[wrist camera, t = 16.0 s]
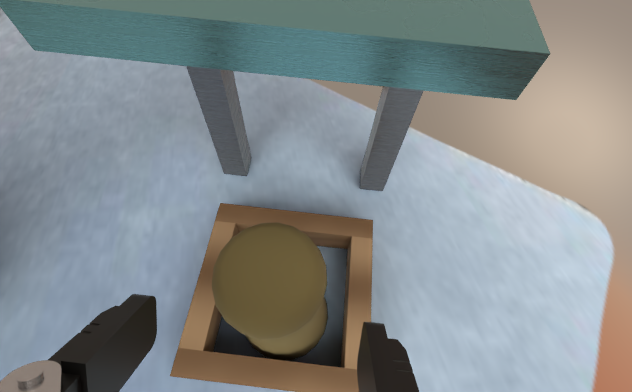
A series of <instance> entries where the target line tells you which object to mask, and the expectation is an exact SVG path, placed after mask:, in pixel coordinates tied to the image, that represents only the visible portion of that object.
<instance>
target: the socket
mask: <svg viewBox="0 0 632 392" xmlns="http://www.w3.org/2000/svg"><path fill="white" fill-rule="evenodd" d="M277 222H278V223H282V224H286V225H290V226H294V227H295V228H297V229H298V230H300V231H302V232H303V233H305V234H306V235H308V237H309V238H310V239H311V240H312V241H313V242H314V244H315V245H316V246H325V247H333V248H342V249H348V251H347V268H346V284H345V301H344V317H343V334H342V350H341V367H333V366H324V365H316V364H308V363H300V362H291V361H283V360H275V359H267V358H258V357H250V356H242V355H234V354H225V353H217V352H213V351H214V347H215V342H216V338H217V334H218V330H219V326H220V322H221V317H222V315H221V313H220V312H219V310H218V309H217V307H216V304H215V300H214V295H213V291H212V277H213V268H214V265H215V263H216V260H217V258H218V256H219V254H220V251H221V250H222V249H223V248H224V246H225V245H226V244H227V243H228V242H229V240H230V239H231V238H232V237H234V236H235V235H237V234H238V233H240V232H241V231H243V230H244V229H246V228H248V227H251V226H254V225H257V224H260V223H277ZM372 238H373V220H367V219H358V218H349V217H340V216H331V215H322V214H314V213H305V212H296V211H287V210H278V209H269V208H260V207H251V206H242V205H233V204H224V203H220V206H219V209H218V213H217V216H216V219H215V223H214V226H213V230H212V233H211V237H210V240H209V243H208V247H207V250H206V254H205V257H204V261H203V264H202V268H201V271H200V274H199V278H198V281H197V285H196V288H195V292H194V295H193V298H192V302H191V305H190V309H189V312H188V316H187V319H186V323H185V326H184V329H183V333H182V336H181V340H180V343H179V347H178V350H177V353H176V357H175V360H174V364H173V367H172V371H171V374H170V376H173V377H181V378H189V379H197V380H205V381H213V382H222V383H230V384H238V385H246V386H254V387H262V388H270V389H279V390H287V391H295V392H359V387H358V377H357V359H358V351H359V345H360V339H361V333H362V327H363V323H364V322H371V288H372Z"/></svg>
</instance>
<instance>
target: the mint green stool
mask: <svg viewBox="0 0 632 392" xmlns="http://www.w3.org/2000/svg"><path fill="white" fill-rule="evenodd" d="M0 7H1V8H2V10H3V11H4V12H5V14H6V15H7V16H8V17H9V19H10V20H11V21H12V22H13V24H14V25H15V26H16V28H17V29H18V30H19V31H20V33H21V34H22V35H23V37H24V38H25V39H26V40H27V42H28V43H29V44H30V45H31V47H32V48H33V49H34V50H37V51H47V52H56V53H66V54H76V55H86V56H95V57H105V58H115V59H124V60H134V61H144V62H153V63H163V64H173V65H182V66H187V69H188V72H189V75H190V78H191V81H192V83H193V86H194V89H195V92H196V95H197V98H198V100H199V103H200V106H201V109H202V112H203V115H204V117H205V120H206V123H207V126H208V129H209V132H210V134H211V137H212V140H213V143H214V146H215V149H216V151H217V154H218V157H219V160H220V163H221V166H222V168H223V171H224V174H232V175H241V176H247V173H248V169H249V165H250V162H251V154H250V149H249V144H248V140H247V135H246V130H245V126H244V121H243V116H242V112H241V107H240V102H239V98H238V93H237V88H236V84H235V79H234V74H233V71H240V72H250V73H260V74H269V75H279V76H289V77H298V78H308V79H318V80H328V81H337V82H347V83H356V84H366V85H376V86H383V89H382V93H381V97H380V100H379V104H378V107H377V111H376V115H375V119H374V122H373V126H372V130H371V133H370V137H369V141H368V145H367V148H366V152H365V156H364V160H363V163H362V167H361V174H360V189H368V190H378V191H383V189H384V187H385V184H386V182H387V179H388V177H389V174H390V172H391V169H392V167H393V164H394V162H395V160H396V157H397V155H398V152H399V150H400V147H401V145H402V142H403V140H404V137H405V135H406V133H407V130H408V128H409V125H410V123H411V120H412V118H413V115H414V113H415V110H416V108H417V105H418V103H419V100H420V98H421V96H422V93H423V91H434V92H444V93H453V94H463V95H472V96H482V97H492V98H501V99H512V100H516V99H517V98H518V97H519V95H520V94H521V93H522V91H523V90H524V89H525V87H526V86H527V85H528V83H529V82H530V81H531V79H532V78H533V77H534V75H535V74H536V72H537V71H538V70H539V68H540V67H541V66H542V64H543V63H544V62H545V60H546V59H547V58H548V56H549V55H550V52H549V49H548V47H547V44H546V41H545V39H544V36H543V34H542V31H541V29H540V27H539V24H538V22H537V19H536V17H535V14H534V11H533V9H532V6H531V4H530V1H529V0H0Z"/></svg>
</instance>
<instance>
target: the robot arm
mask: <svg viewBox="0 0 632 392" xmlns="http://www.w3.org/2000/svg"><path fill="white" fill-rule="evenodd" d="M156 334H157V317H156V299H155V297H154V296H147V295H138V294H133V295H131V296H130V297H129V298H128V299H127V300H126V301H125V302H123V303H122V304H121V305H120V306H114V307H112V308H110V309H108V310H106V311H104V312H102V313H101V314H100V315H98V316H97V317H96V318H95V319H94V320H93V321H92V322H90V325H87V326H86V327H85V328H84V329H82V330H81V333H78V334H77V335H76V336H75V337H73V338H72V339H71V340H70V341H69V342H68V343H67V344H65V345H64V346H63V347H62V348H61V349H60V350H59V351H58V352H56V353H55V354H54V355H53V356H52V357H51V358H50V359H48V360H46V361H37V362H33V363H30V364H27V365H24V366H22V367H20V368H18V369H16V370H14V371H12V372H11V373H10V374H8V375H7V376H6V377H5V378H4V379H3V380H2V381H0V392H119V391H120V389H121V388H122V387H123V385H124V384H125V383H126V381H127V380H128V379H129V377H130V376H131V375H132V373H133V372H134V371H135V369H136V368H137V367H138V365H139V364H140V363H141V361H142V360H143V359H144V357H145V356H146V355H147V353H148V352H149V351H150V349H151V348H152V346H153V344H154V342H155V339H156ZM357 377H358V387H359V392H419V390H418V386H417V383H416V380H415V377H414V374H413V371H412V367H411V364H410V361H409V358H408V355H407V352H406V349H405V348H404V347H403V346H402V345H401V343H400V342H399V341H398V340H396V339H388V338H387V334H386V330H385V326H384V324H381V323H372V322H364V323H363V327H362V333H361V339H360V345H359V351H358V359H357Z"/></svg>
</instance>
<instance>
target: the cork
mask: <svg viewBox="0 0 632 392" xmlns="http://www.w3.org/2000/svg"><path fill="white" fill-rule="evenodd" d="M326 286H327V273H326V264H325V262H324V259H323V257H322V254H321V252H320V250H319V248H318V247H317V246H316V245H315V244H314V242H313V241H312V240H311V239H310V238H309V237H308V235H306V234H305V233H303V232H302V231H300V230H298V229H297V228H295V227H294V226H290V225H286V224H282V223H278V222H277V223H260V224H257V225H254V226H251V227H248V228H246V229H244V230H243V231H241V232H240V233H238V234H237V235H235V236H234V237H232V238H231V239H230V240H229V242H228V243H227V244H226V245H225V246H224V248H223V249H222V250H221V251H220V254H219V256H218V258H217V260H216V263H215V265H214V268H213V277H212V291H213V295H214V300H215V304H216V307H217V309H218V310H219V312H220V313H221V315H222V317H223V318H224V320H225V321H226V322H227V323H228V324H229V325H231V326H232V327H233V328H235V329H236V330H237V331H239V332H240V333H242V334H244V335H245V336H246V338H247V339H248V341H249V342H250V344H251V345H252V347H253V348H254V349H255V350H256V351H258V352H259V353H260V354H262V355H263V356H264V357H267V358H270V359H275V360H283V361H285V360H294V359H296V358H299V357H301V356H303V355H306V354H307V353H308V352H309V351H310V350H312V349H313V348H314V347H315V346H316V345H317V344H318V342H319V340H320V339H321V337H322V335H323V334H324V332H325V328H326V324H327V320H328V314H327V303H326V301H325V298H324V294H325V290H326Z"/></svg>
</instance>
